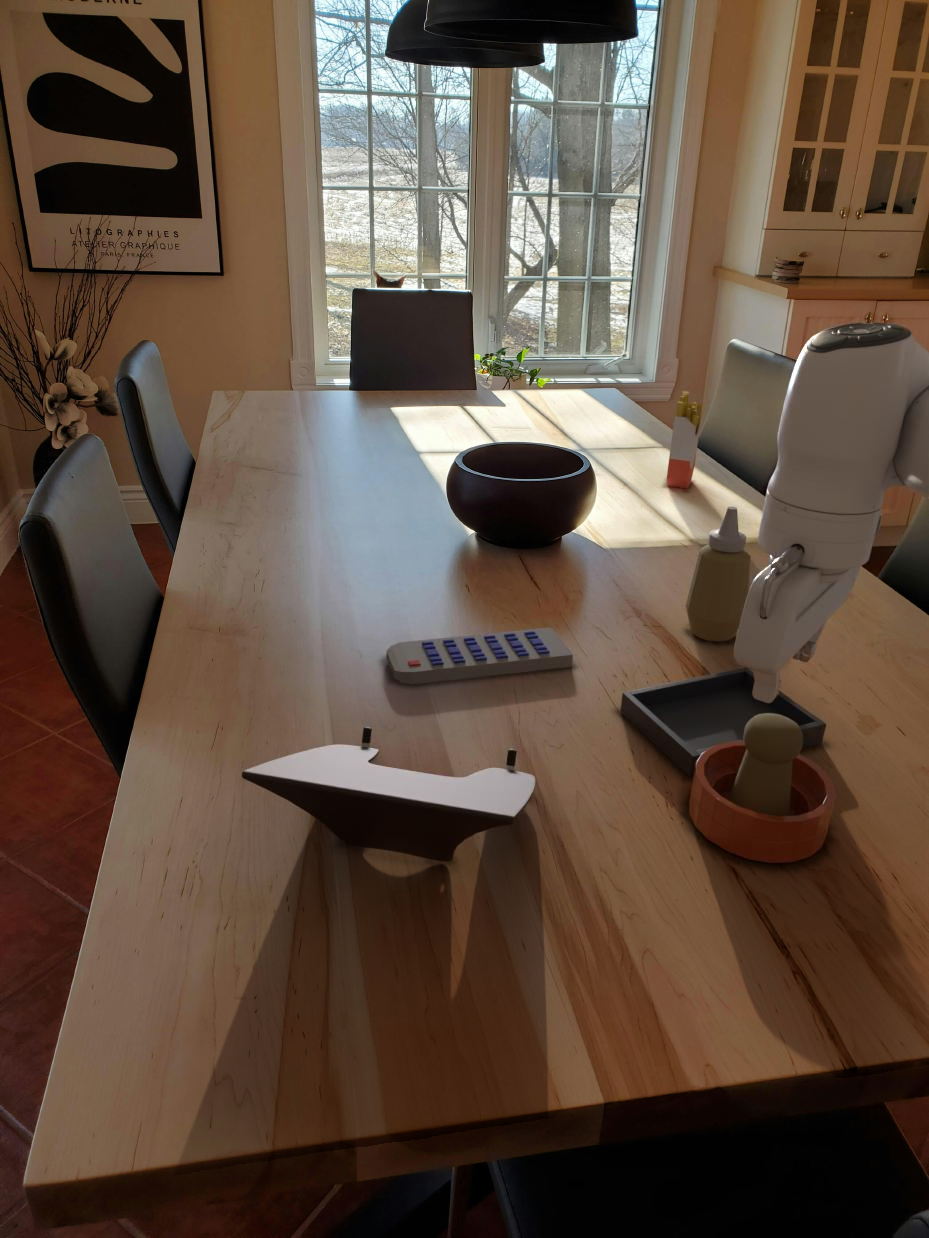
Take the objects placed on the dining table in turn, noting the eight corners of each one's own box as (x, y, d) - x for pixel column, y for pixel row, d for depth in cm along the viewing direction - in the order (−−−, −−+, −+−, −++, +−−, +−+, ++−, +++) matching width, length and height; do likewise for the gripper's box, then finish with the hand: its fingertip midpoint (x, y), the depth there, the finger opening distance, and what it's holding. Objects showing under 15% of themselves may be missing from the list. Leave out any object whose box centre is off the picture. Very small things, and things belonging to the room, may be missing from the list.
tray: (743, 685, 110) (746, 666, 109) (822, 743, 99) (826, 723, 98) (620, 711, 104) (622, 692, 103) (689, 777, 93) (693, 756, 92)
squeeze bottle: (727, 618, 127) (747, 497, 120) (752, 644, 120) (776, 517, 112) (673, 621, 126) (690, 499, 118) (696, 648, 119) (716, 519, 111)
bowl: (764, 771, 94) (773, 731, 92) (853, 845, 84) (865, 802, 82) (663, 797, 90) (669, 755, 88) (744, 879, 79) (754, 834, 77)
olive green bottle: (752, 845, 83) (773, 746, 78) (710, 807, 88) (728, 711, 83) (802, 829, 85) (825, 731, 81) (759, 793, 90) (779, 699, 85)
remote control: (571, 668, 114) (573, 652, 113) (396, 686, 108) (396, 670, 107) (550, 639, 121) (551, 625, 120) (384, 655, 115) (384, 640, 114)
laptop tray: (537, 843, 92) (548, 753, 92) (504, 908, 69) (519, 790, 69) (325, 806, 96) (336, 721, 96) (229, 857, 74) (243, 746, 74)
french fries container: (694, 478, 189) (707, 391, 181) (687, 492, 179) (700, 402, 172) (672, 475, 190) (684, 389, 182) (664, 489, 181) (676, 399, 173)
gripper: (813, 578, 65) (777, 739, 71) (888, 509, 79) (853, 648, 85) (730, 556, 68) (702, 711, 74) (816, 494, 83) (787, 628, 89)
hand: (783, 677), depth 80 cm, fingers open, 8 cm apart
